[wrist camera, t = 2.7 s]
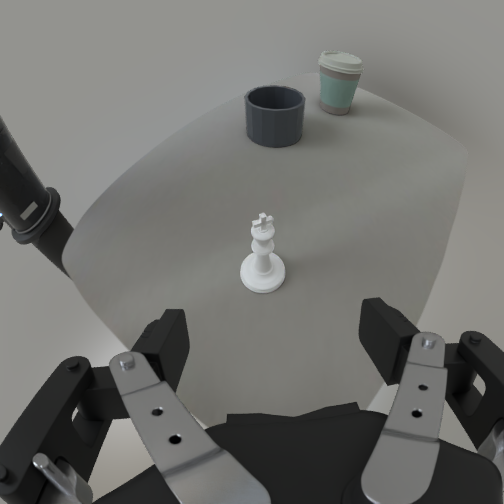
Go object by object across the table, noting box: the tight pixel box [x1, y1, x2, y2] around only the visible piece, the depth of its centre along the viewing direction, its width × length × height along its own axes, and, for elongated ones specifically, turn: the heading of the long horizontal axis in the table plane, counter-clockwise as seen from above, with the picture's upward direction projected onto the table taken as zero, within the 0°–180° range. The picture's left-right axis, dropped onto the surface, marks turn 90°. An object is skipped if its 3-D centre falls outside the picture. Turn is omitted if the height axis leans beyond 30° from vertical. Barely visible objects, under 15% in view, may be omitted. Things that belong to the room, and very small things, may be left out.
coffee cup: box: [318, 51, 363, 115], centre depth 43 cm, size 8×8×12 cm
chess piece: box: [240, 213, 285, 293], centre depth 26 cm, size 5×5×10 cm
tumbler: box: [244, 85, 305, 147], centre depth 41 cm, size 9×9×7 cm
